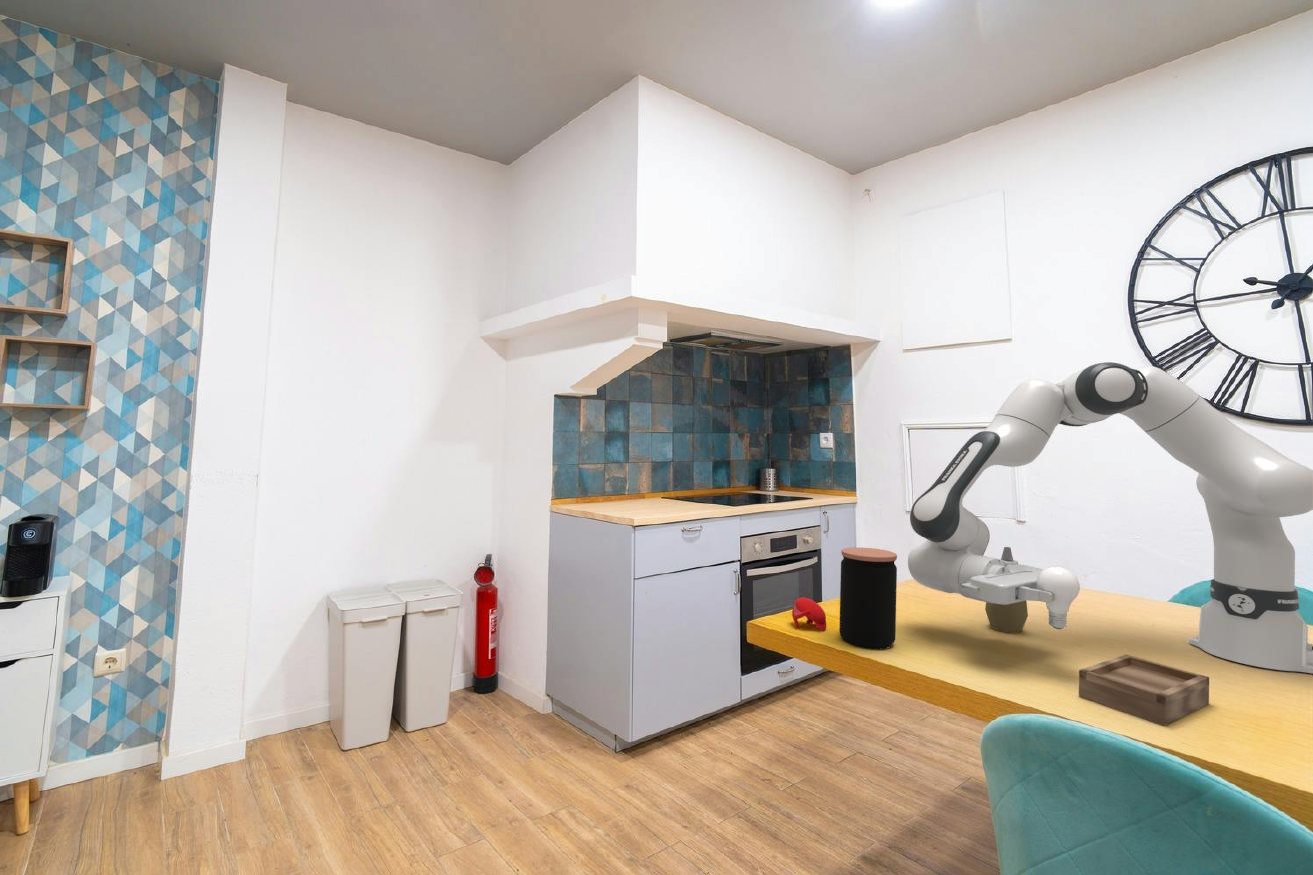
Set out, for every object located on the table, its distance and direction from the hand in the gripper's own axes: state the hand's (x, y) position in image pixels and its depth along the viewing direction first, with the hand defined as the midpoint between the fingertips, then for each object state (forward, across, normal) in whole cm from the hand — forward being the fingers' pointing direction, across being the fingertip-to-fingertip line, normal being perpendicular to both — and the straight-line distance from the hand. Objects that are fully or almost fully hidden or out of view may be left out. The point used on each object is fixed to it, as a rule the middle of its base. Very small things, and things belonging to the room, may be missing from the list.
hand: (1063, 595), depth 103 cm
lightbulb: (-1, 0, +6) cm, 6 cm away
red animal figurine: (-39, -22, +14) cm, 47 cm away
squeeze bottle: (-19, +17, +14) cm, 29 cm away
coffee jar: (-27, -18, +14) cm, 36 cm away
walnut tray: (+12, 0, +14) cm, 18 cm away
